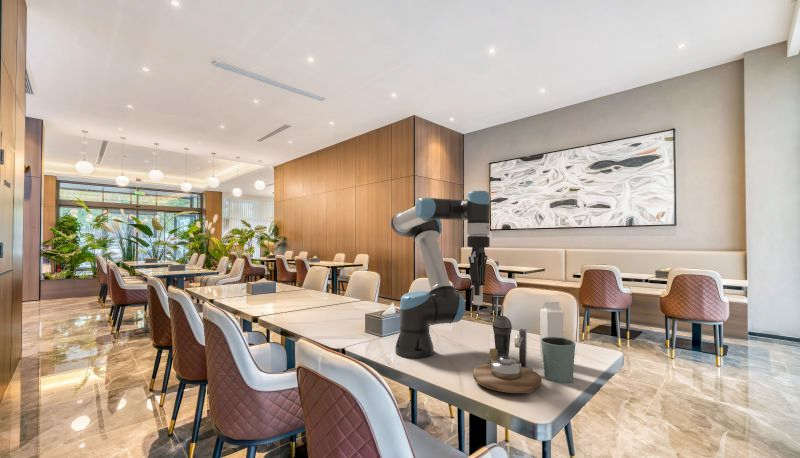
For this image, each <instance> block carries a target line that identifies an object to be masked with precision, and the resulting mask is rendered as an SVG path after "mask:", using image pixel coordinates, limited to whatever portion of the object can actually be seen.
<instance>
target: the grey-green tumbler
mask: <svg viewBox="0 0 800 458" xmlns="http://www.w3.org/2000/svg"><path fill="white" fill-rule="evenodd" d="M541 344H542V353H543V361H542V362H543V371H544V372H543V373H544V377H545V378H546V379H547V380H549V382H550V381H551V382H555V383H559V384H570V383H572V382H573V381H574V370H575V369H574V368H575V365H574V364H575V357H576V342H575V341H574V340H572V339H570V338H565V337H564V338H561V337H545V338H542V339H541Z"/></svg>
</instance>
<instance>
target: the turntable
mask: <svg viewBox="0 0 800 458" xmlns="http://www.w3.org/2000/svg"><path fill="white" fill-rule="evenodd" d="M497 358H498V350H497V349H495V347H493V348H489V362H488V363H484V364H481V365H478V366H475V368H474V369H473V379H474V381H475V382H476V383H478V384H479V385H480V386H482V387H484V388H487V389H489V390H493V391H497V392H502V393H509V394H526V393H532V392H535V391H538V390H539V389H540V388H541V386H542V377H541V375H540V374H539V373H538V372H536V371H535V370H533V369H532V370H530V369H528V368H525V367H522V366H521V378H520V379H517V380H503V379H499V378H496V377H494V376H493V375H492V374H491V361H492V360H493V359H497Z"/></svg>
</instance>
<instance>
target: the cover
mask: <svg viewBox="0 0 800 458" xmlns="http://www.w3.org/2000/svg"><path fill="white" fill-rule="evenodd" d="M491 374H492V375H493V376H494V377H496V378H499V379H503V380H517V379H520V378H521V363H520V362H519V361H518V360H515V359H514V358H513V357H511V356H509V355H508V356H500V357H499V358H497V359H493V360H492V361H491Z"/></svg>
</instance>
